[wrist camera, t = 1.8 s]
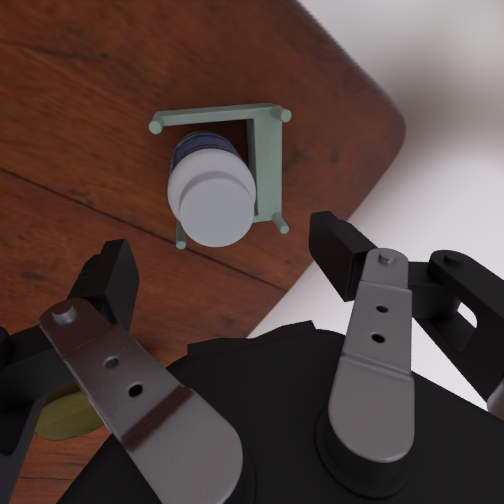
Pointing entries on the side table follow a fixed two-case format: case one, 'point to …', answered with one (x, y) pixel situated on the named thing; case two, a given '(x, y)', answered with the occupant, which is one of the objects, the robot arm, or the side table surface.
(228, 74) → the side table surface
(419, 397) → the robot arm
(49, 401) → the fruit
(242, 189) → the pill bottle
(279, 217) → the rack
